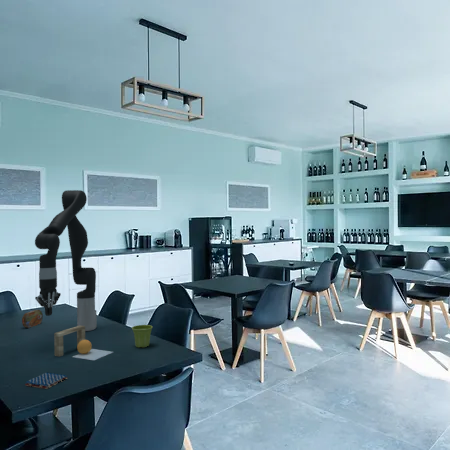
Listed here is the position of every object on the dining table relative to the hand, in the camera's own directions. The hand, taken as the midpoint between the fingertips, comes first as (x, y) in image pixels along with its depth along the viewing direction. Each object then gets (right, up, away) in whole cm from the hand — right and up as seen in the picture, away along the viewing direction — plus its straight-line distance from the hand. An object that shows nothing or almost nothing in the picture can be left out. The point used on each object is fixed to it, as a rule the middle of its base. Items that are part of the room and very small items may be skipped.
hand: (48, 315), depth 191 cm
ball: (+19, -12, -9) cm, 25 cm away
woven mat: (+17, -16, -42) cm, 48 cm away
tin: (-28, -16, +44) cm, 54 cm away
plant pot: (+43, -15, +1) cm, 45 cm away
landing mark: (+24, -15, -11) cm, 30 cm away
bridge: (+12, -15, -6) cm, 20 cm away
